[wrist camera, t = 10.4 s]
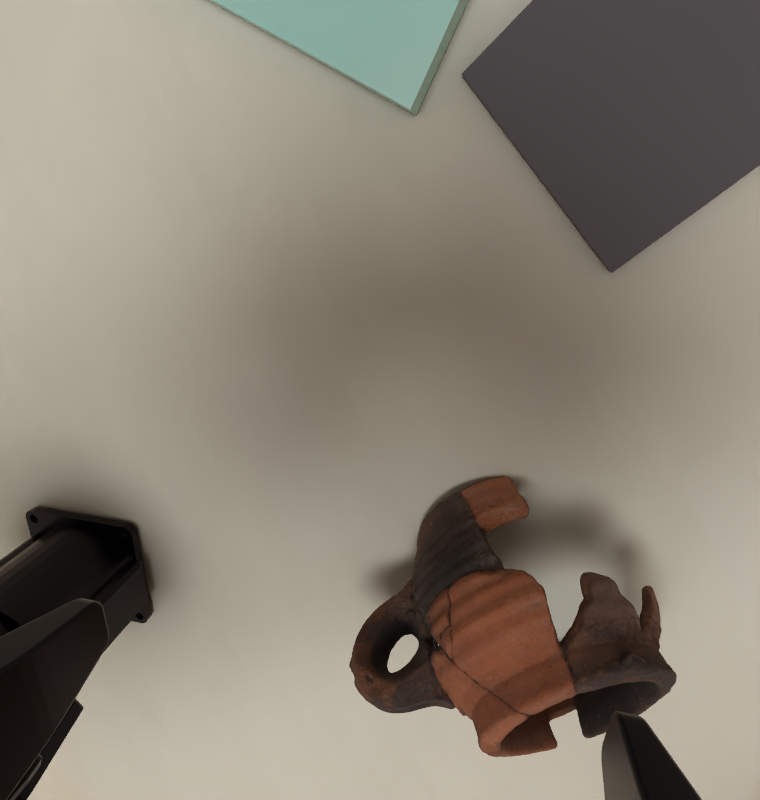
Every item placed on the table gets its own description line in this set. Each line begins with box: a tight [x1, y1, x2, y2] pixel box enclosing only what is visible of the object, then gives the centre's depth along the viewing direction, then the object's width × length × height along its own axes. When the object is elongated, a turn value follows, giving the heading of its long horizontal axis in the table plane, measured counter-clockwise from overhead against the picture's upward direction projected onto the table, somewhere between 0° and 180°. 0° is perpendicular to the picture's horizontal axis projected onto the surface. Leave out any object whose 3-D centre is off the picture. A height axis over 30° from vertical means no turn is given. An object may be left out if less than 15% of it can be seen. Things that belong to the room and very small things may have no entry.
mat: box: [462, 0, 760, 273], centre depth 15 cm, size 8×8×1 cm
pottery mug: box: [350, 476, 677, 757], centre depth 21 cm, size 12×9×8 cm
